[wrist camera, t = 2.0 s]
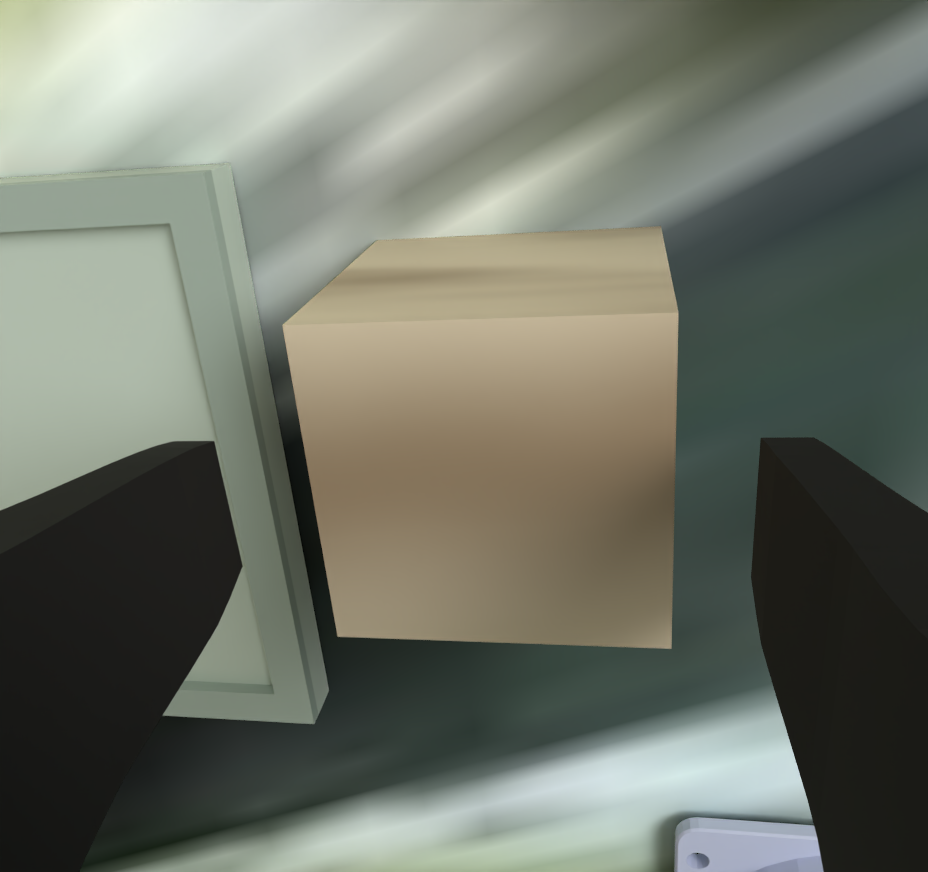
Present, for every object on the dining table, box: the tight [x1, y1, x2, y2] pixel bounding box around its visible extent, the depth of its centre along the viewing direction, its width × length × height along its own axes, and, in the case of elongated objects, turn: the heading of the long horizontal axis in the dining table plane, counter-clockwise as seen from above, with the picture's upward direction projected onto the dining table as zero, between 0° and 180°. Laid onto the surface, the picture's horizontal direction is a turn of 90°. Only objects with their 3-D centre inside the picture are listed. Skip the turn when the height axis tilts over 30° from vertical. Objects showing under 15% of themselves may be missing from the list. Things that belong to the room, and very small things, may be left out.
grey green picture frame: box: [0, 163, 329, 724], centre depth 18 cm, size 12×10×1 cm
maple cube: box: [282, 226, 678, 649], centre depth 14 cm, size 5×5×5 cm
